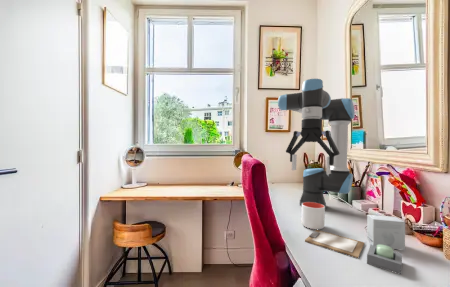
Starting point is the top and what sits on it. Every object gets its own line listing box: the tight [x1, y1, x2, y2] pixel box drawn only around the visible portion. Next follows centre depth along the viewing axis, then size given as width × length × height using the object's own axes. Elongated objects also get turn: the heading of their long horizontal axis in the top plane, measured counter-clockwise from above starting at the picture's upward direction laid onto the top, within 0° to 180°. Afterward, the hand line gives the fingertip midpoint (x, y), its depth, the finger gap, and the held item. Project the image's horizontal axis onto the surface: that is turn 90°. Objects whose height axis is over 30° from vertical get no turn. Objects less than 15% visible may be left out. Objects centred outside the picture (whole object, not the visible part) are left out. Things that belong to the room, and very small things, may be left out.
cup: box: [300, 202, 326, 230], centre depth 99 cm, size 10×10×10 cm
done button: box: [376, 245, 394, 260], centre depth 70 cm, size 4×4×3 cm
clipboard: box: [304, 229, 365, 259], centre depth 83 cm, size 18×14×1 cm
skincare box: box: [366, 214, 406, 251], centre depth 82 cm, size 10×6×10 cm, turn 76°
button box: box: [366, 244, 403, 275], centre depth 70 cm, size 9×9×3 cm
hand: (310, 171), depth 85 cm, fingers open, 13 cm apart
